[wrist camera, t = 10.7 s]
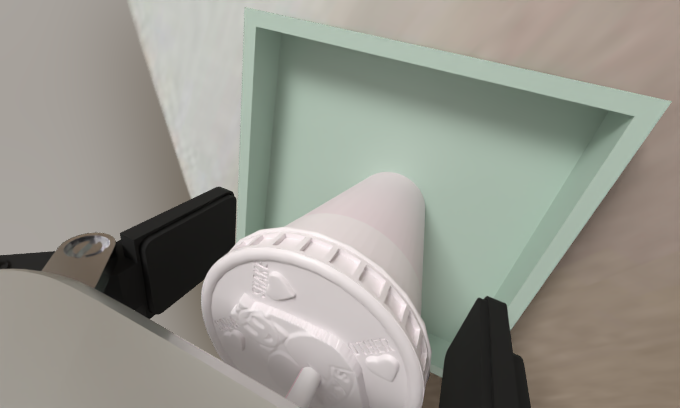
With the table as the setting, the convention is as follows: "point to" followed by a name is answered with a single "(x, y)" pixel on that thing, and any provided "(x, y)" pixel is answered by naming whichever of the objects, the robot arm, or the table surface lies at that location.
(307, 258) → the smoothie
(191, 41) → the table surface
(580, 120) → the tray
